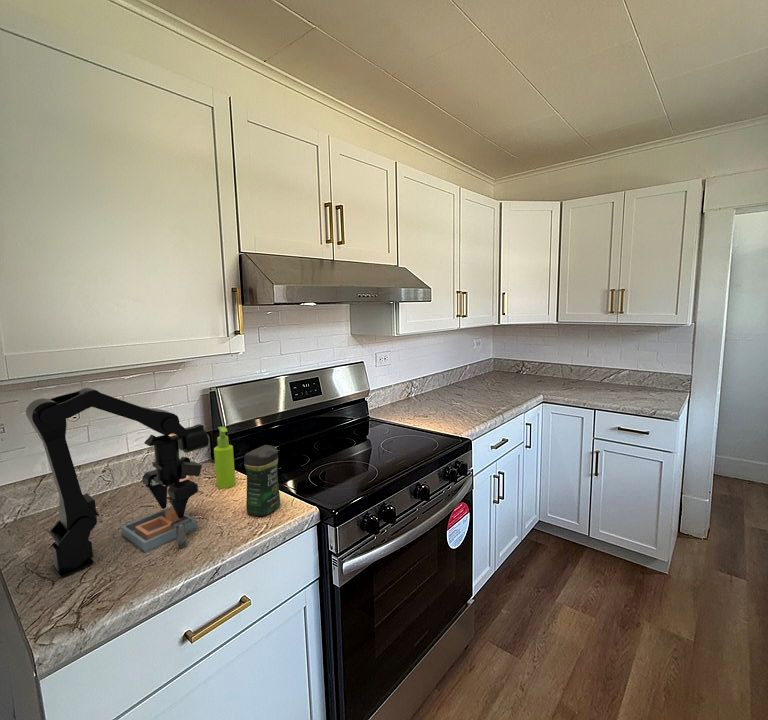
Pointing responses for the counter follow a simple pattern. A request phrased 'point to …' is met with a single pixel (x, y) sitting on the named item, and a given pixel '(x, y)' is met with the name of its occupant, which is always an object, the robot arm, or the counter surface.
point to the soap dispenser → (224, 461)
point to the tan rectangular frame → (163, 521)
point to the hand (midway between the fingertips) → (172, 512)
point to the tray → (159, 540)
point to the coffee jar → (262, 480)
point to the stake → (180, 532)
